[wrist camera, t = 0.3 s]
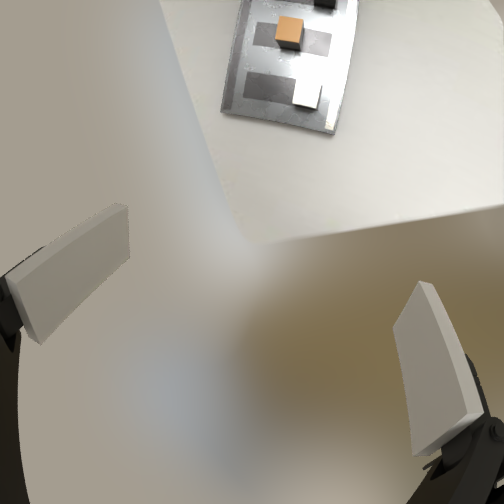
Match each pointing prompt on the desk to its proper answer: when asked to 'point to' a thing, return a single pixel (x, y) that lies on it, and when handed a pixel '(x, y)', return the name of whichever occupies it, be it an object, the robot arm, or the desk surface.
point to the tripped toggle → (290, 32)
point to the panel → (291, 63)
